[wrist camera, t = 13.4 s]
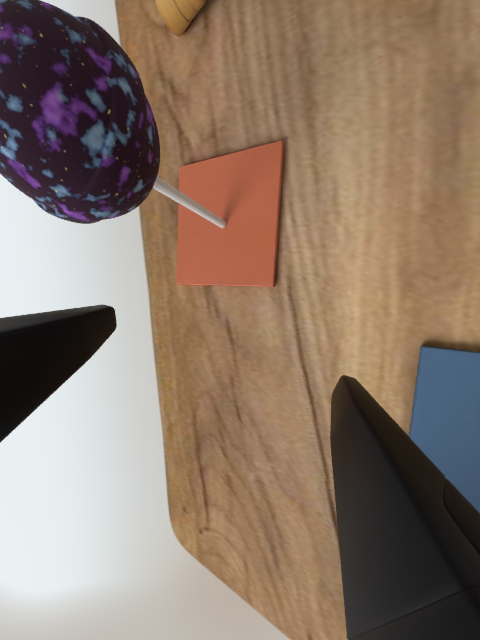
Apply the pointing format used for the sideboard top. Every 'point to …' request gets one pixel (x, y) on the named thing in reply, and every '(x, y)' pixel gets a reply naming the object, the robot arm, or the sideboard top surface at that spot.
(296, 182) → the sideboard top surface
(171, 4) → the kendama
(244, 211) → the terracotta pad
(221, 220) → the lollipop
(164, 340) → the sideboard top surface
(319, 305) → the sideboard top surface
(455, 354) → the slate pad
